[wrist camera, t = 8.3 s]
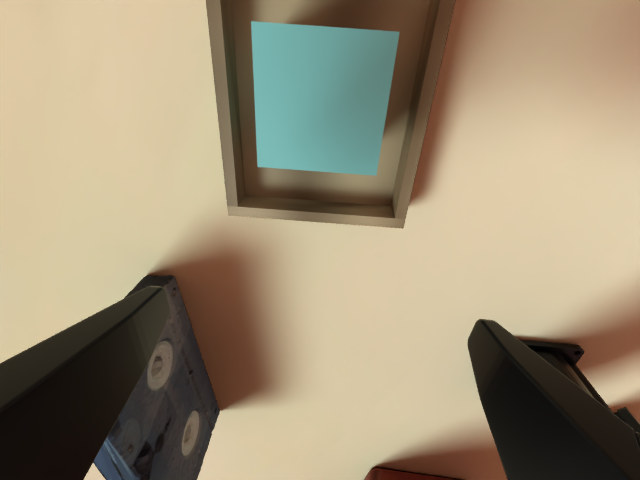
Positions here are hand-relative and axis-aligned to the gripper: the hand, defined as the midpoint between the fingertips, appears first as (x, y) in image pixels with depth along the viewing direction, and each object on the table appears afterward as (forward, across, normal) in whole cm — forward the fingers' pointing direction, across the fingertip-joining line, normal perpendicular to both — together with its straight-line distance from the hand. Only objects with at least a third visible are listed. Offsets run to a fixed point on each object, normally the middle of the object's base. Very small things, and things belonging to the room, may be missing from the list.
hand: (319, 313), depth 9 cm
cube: (+11, +1, -5) cm, 12 cm away
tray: (+12, +1, -5) cm, 13 cm away
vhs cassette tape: (+12, +11, +18) cm, 24 cm away
